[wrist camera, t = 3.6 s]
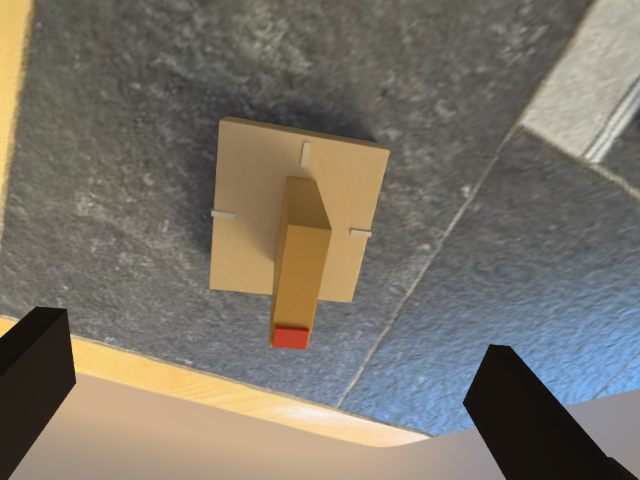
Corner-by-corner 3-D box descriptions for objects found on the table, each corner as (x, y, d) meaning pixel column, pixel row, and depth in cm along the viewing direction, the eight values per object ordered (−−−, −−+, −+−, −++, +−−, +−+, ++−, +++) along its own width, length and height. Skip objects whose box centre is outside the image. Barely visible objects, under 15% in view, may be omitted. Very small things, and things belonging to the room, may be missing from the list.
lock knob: (286, 175, 20) (287, 226, 13) (316, 180, 21) (333, 232, 13) (274, 263, 23) (268, 350, 15) (300, 267, 23) (308, 353, 16)
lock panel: (225, 115, 22) (216, 119, 19) (379, 142, 23) (393, 150, 20) (215, 267, 26) (206, 290, 23) (346, 282, 27) (353, 304, 25)
